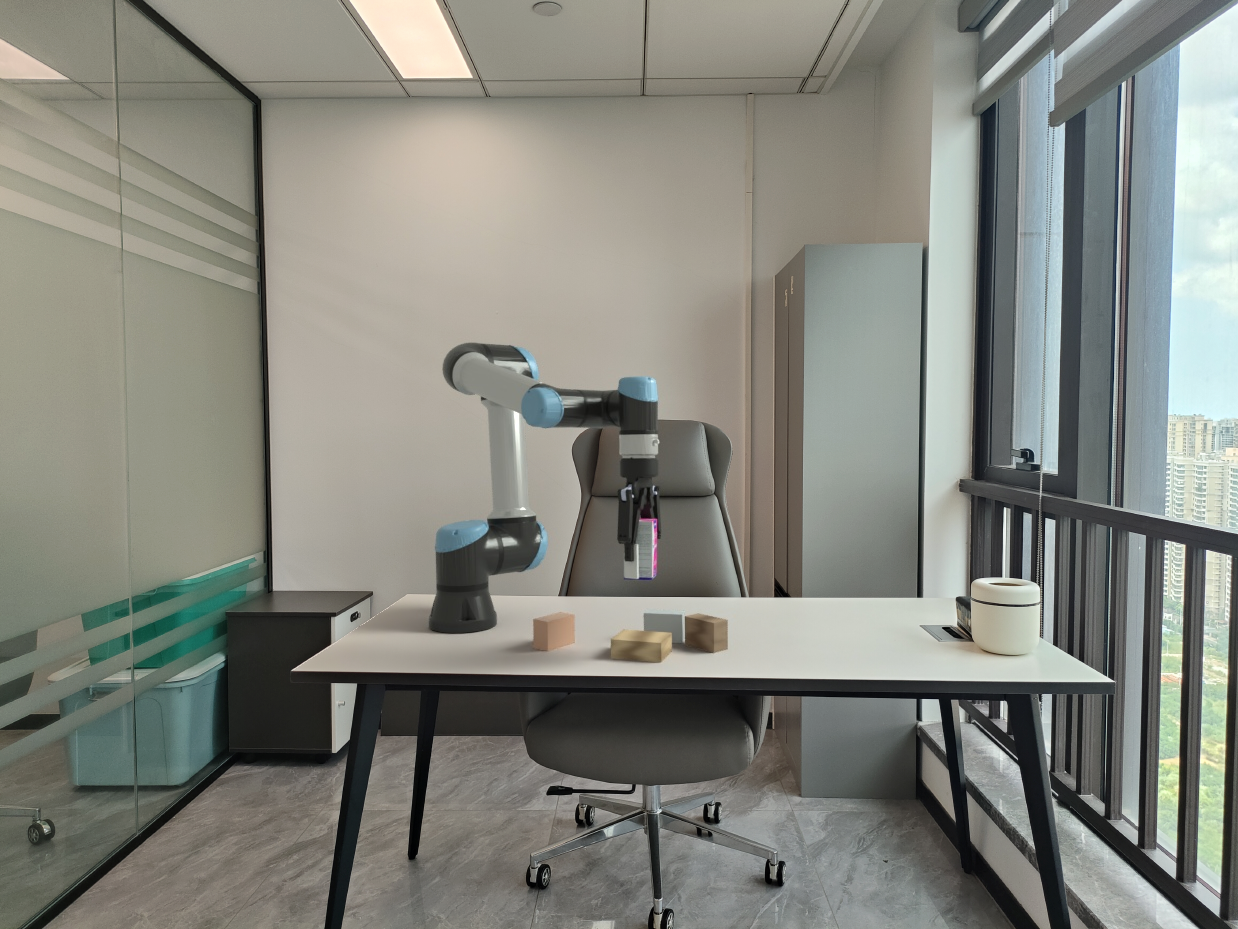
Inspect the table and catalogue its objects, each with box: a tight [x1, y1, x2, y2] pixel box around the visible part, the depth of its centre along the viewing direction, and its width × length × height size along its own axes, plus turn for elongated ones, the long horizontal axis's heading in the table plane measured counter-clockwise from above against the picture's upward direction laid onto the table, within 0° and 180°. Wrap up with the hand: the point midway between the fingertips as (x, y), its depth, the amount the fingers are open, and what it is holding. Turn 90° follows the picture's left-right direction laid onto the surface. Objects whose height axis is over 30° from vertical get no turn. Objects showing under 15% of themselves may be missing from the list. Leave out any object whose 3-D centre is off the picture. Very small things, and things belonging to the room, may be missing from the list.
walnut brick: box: [684, 613, 729, 654], centre depth 157 cm, size 8×4×6 cm, turn 41°
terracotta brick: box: [532, 611, 576, 652], centre depth 159 cm, size 8×4×6 cm, turn 141°
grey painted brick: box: [643, 608, 686, 644], centre depth 163 cm, size 8×4×6 cm, turn 78°
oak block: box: [610, 629, 673, 663], centre depth 152 cm, size 10×8×4 cm
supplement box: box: [623, 517, 658, 581], centre depth 151 cm, size 6×6×12 cm
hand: (640, 575), depth 151 cm, fingers closed on supplement box, 7 cm apart
